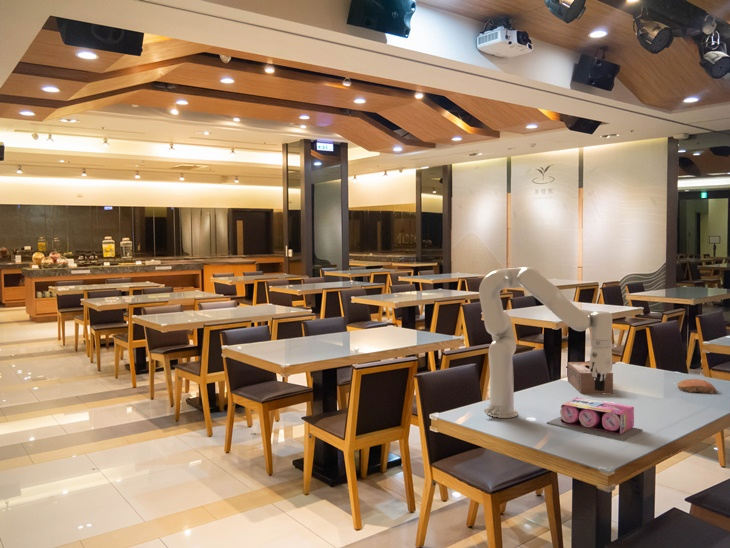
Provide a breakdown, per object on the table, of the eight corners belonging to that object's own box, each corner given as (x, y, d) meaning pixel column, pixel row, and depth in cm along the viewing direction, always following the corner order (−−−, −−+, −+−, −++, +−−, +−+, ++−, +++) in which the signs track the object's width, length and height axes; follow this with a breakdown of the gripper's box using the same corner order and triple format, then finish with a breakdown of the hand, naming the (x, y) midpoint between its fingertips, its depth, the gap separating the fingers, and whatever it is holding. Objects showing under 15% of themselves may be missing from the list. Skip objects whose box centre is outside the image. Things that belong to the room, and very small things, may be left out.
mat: (623, 440, 209) (623, 439, 209) (546, 423, 232) (546, 422, 231) (642, 430, 220) (642, 429, 220) (567, 415, 242) (567, 413, 242)
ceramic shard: (672, 375, 287) (705, 380, 285) (670, 388, 287) (704, 393, 284) (683, 377, 273) (718, 383, 270) (681, 391, 272) (716, 397, 270)
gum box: (573, 415, 240) (557, 423, 230) (573, 396, 240) (557, 402, 230) (634, 426, 223) (620, 435, 214) (634, 406, 223) (620, 413, 213)
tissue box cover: (567, 381, 301) (567, 362, 301) (597, 381, 300) (597, 362, 299) (580, 394, 276) (580, 373, 275) (612, 394, 274) (612, 373, 274)
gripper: (601, 347, 221) (599, 395, 222) (619, 342, 231) (617, 388, 233) (582, 344, 227) (580, 391, 228) (600, 340, 237) (599, 385, 238)
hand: (599, 390), depth 230 cm, fingers closed
